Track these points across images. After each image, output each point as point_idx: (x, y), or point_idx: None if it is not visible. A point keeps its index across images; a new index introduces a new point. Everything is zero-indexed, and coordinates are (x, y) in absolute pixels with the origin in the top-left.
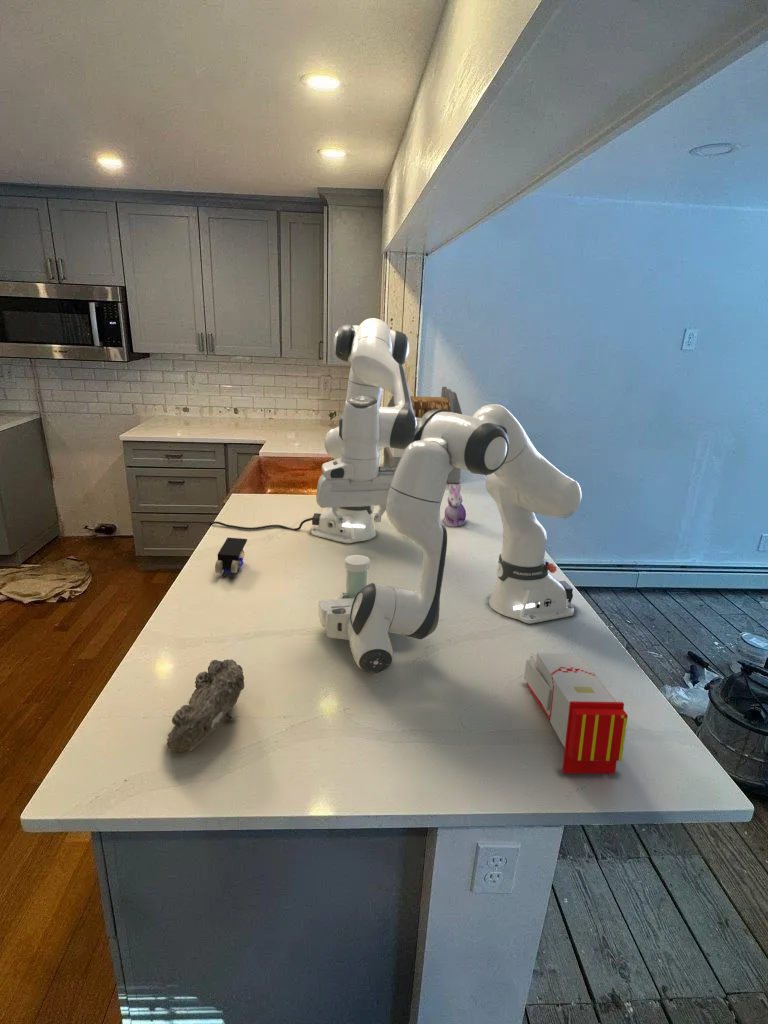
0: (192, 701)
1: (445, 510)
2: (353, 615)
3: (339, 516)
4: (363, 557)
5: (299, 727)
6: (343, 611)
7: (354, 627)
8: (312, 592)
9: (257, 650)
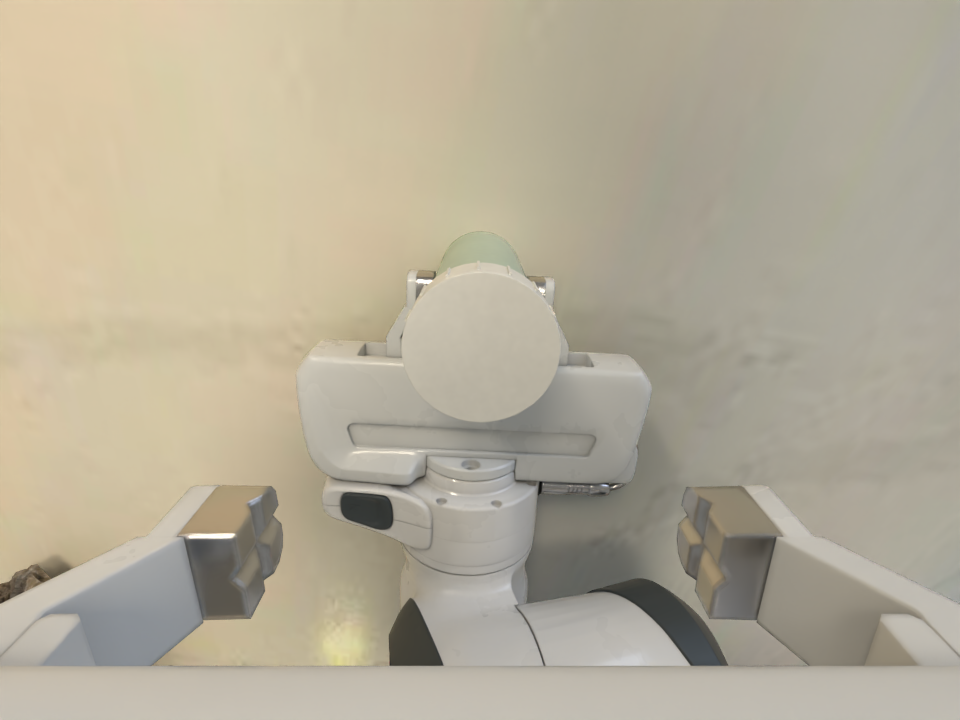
0: None
1: None
2: None
3: (203, 584)
4: (529, 322)
5: None
6: (383, 522)
7: None
8: (315, 17)
9: (137, 426)
